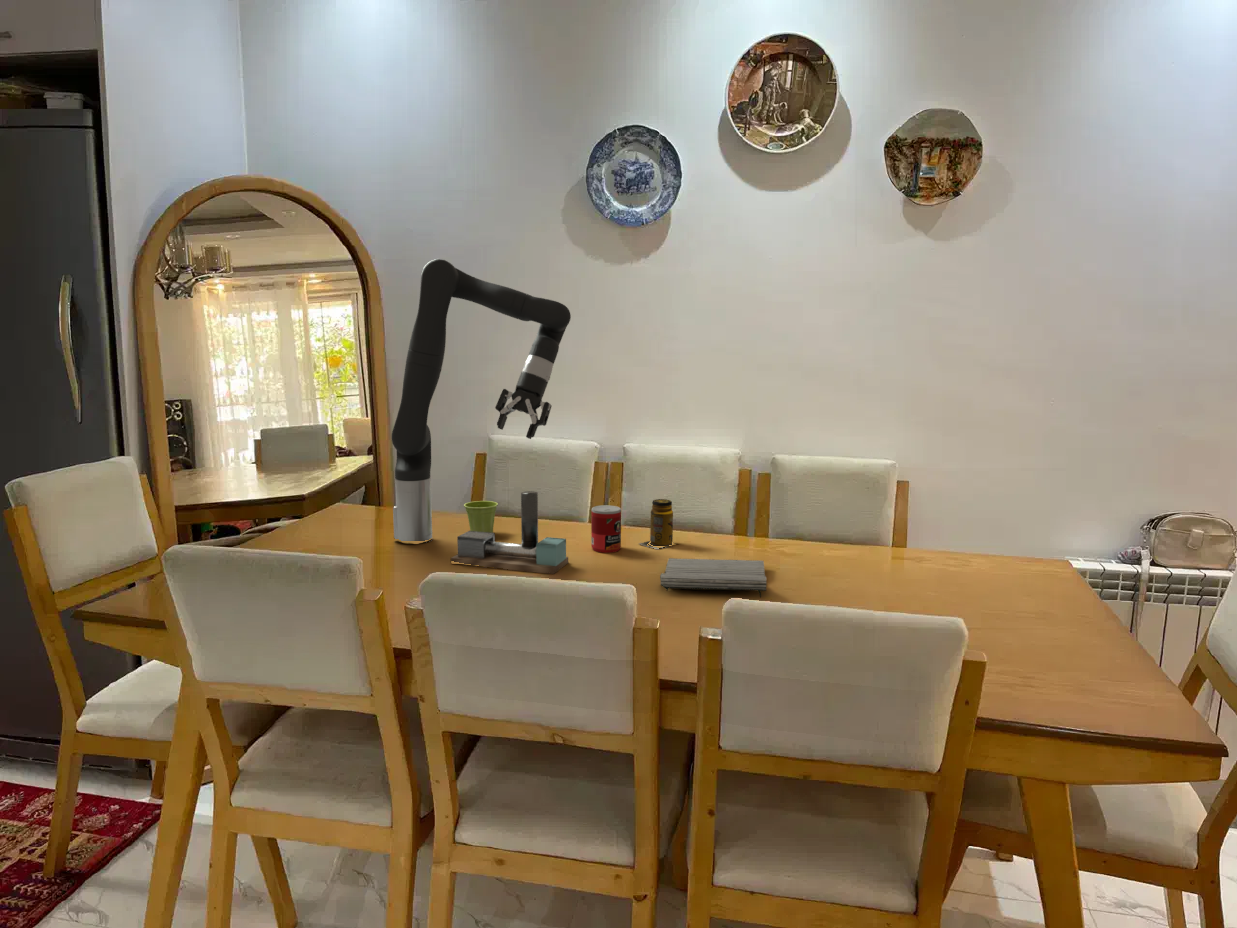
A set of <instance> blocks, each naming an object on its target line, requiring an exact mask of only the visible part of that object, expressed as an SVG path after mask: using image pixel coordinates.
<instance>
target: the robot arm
mask: <svg viewBox="0 0 1237 928" xmlns="http://www.w3.org/2000/svg"><path fill="white" fill-rule="evenodd" d="M452 298H456V299H461V300H465V301H469V302H472V303H475V304H477V305H480V306H482V307H486V308H487V309H490V310H492V311H495V312H497V313H499V314H502V315H504V316H507V317H510V318H514V319H517V320H519V321H523V322H535V323H537V324H539V326H538V330H537V333H536V335H535V336H536V337H535V338H534V340H533V343H532V344H531V347H530V349H529V352H528V356H527V358H526V360H525V361H524V364H523V367H522V369H521V372H520V375H519V378H518V380H517V383H516V386H515V389H514V390H513V392H512V391H509V390H508V389H506V388H502V392H501V394H500V395H499V398H498V400H497V403H496V405H495V407H494V408H495V410H497V411H498V412H499V417H498V420H497V421H496V426H497V429H498V430H504V428H505V425H506V422H507V421H508V420H507V419H508V416H509V415H510V414H511V413H514V412H515V411H517V412H521V413H525V414H526V415H529V417H530V420H531V423H530V424H529V428H528V430H527V433H526V435H525V437H526V439H530V440H531V439H532V438H534V437H535V435H536V432H537V430H538V427H540V426H544V427H545V426H546V425H547V422H548V419H549V416H550V412H551V409H552V404H551V403H550V402H548V401H543V397H544V394H545V391H546V389H547V386H548V384H549V381H550V379H551V376H552V373H553V368H554V367H553V366H554V364H555V362H556V358H557V356H558V354H559V350H560V344H561V342H562V339H563V336H564V334H565V331H566V329H567V327H568V325H569V324H570V321H571V317H572V316H571V315H572V314H571V311H570V310H569V308H568V307H567V306H566V305H565V304H563V303H561V302H559V301H557V300H552V299H549V298H548V299H547V298H545V297H544V298H542V297H538V296H534V295H533V296H532V295H530V294H528V293H525V292H523V291H521V290H520V291H519V290H517V289H515V288H514V289H513V288H512V287H509V286H505V285H500V284H497V283H492V282H489V281H485V280H482V279H479V278H477V277H475V276H472V275H470V274H468V273H466V272H464V271H462V270H460V269H459V268H456V267H455V266H454V265H453V264H452V263H451V262H449V261H448V260H445V259H443V258H436V259H431V260H430V261H428V262H427V263H426V264H425V265H424V266H423V268H422V271H421V273H420V290H419V302H418V309H417V315H416V318H415V321H414V324H413V328H412V331H411V337H410V341H409V344H408V347H407V348H408V349H407V355H406V360H405V365H404V374H403V382H402V383H403V384H402V391H401V393H402V394H401V400H400V404H399V408H398V411H397V415H396V418H395V419H396V420H395V421H394V425H393V429H392V432H391V442H392V445H393V447H394V449H395V450H396V459H395V469H394V480H395V481H394V483H395V485H394V486H395V505H394V506H393V508H392V514H393V515H392V516H393V517H392V518H393V519H392V521H393V538H395V539H399V540H401V541H425V540H429V539H431V538H432V539H433V517H432V513H433V511H432V486H431V481H432V479H431V468H432V436H431V435H432V434H431V430H430V427H429V425H428V418H429V410H430V409H429V408H430V405H431V401H432V399H433V396H434V395H435V394H434V393H435V391H436V389H437V385H438V382H439V379H440V375H441V373H442V370H443V369H442V368H443V364H444V358H445V352H446V351H445V350H446V344H447V343H446V342H447V341H446V339H447V316H448V311H449V308H450V306H451V305H450V304H451V301H452ZM510 398H511V401H510V402H508V403H507V401H508V400H509V399H510ZM540 407H541V412H540V413H541V414H540V416H539V415H538V411H537V409H539V408H540Z"/></svg>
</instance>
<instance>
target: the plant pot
mask: <svg viewBox="0 0 1237 928" xmlns="http://www.w3.org/2000/svg"><path fill="white" fill-rule="evenodd" d="M498 504H499V503H498V502H496V501H492V500H479V501H478V500H476V501H470V502H466V503H464V504H463V507H464V508H465V512H466V514H467V519H468V525H469V531H478V532H490V533H494V528H495V527H494V526H495V525H494V524H495V515H496V510H497V507H498Z"/></svg>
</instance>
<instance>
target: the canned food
mask: <svg viewBox="0 0 1237 928" xmlns="http://www.w3.org/2000/svg"><path fill="white" fill-rule="evenodd" d="M590 515H591V524H590V526H591V528H590V529H591V531H590V532H591V533H590V534H591V536H590V537H591V550H592V551H594V552H596V553H604V554H610V553H611V554H612V553H617V552H619V551H620V550H621V547H622V546H621V545H622V544H621V542H622V541H621V540H622V508H621V507H619V506H617V505H606V504H605V505H604V504H603V505H596V506H593V507H592V508H591V514H590Z"/></svg>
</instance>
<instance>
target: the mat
mask: <svg viewBox="0 0 1237 928" xmlns="http://www.w3.org/2000/svg"><path fill="white" fill-rule="evenodd" d="M664 571H665V572H664V573H663V572H661V573H660V577H659V578H660V586H661V587H662V588H664V589H665V590H666V591H668V590H669V589H673V590H674V589H675V590H677V589H678V590H726V591H756V592H758V594H759V597H760V598H762V595H761V592H767V580H768V579H767V576H766V572H765V571H766V570H765V563H764V560H754V559H753V560H752V559H751V560H745V559H713V558H712V559H710V558H709V559H708V558H706V559H705V558H673V557H672V558H671V557H670V558H668V560H667V563H666V567H665V570H664Z"/></svg>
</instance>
